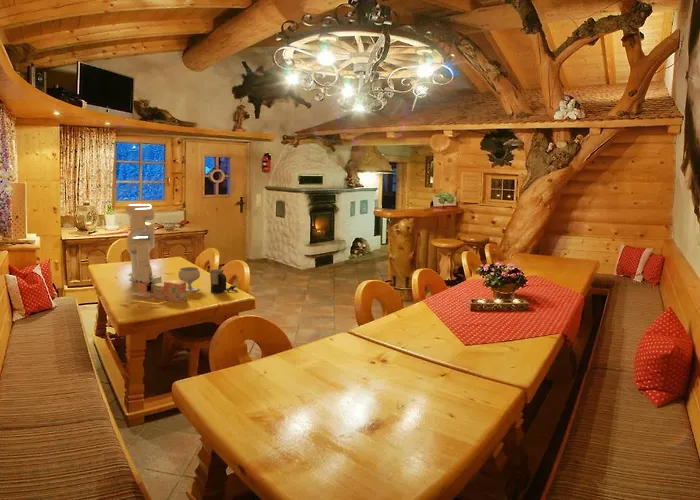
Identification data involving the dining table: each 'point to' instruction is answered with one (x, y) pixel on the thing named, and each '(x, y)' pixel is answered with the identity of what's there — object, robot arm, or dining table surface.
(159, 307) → the dining table surface
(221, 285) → the milk frother
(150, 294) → the board
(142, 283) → the terracotta block
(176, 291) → the stack of blocks
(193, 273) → the chalice
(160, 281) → the sage block
